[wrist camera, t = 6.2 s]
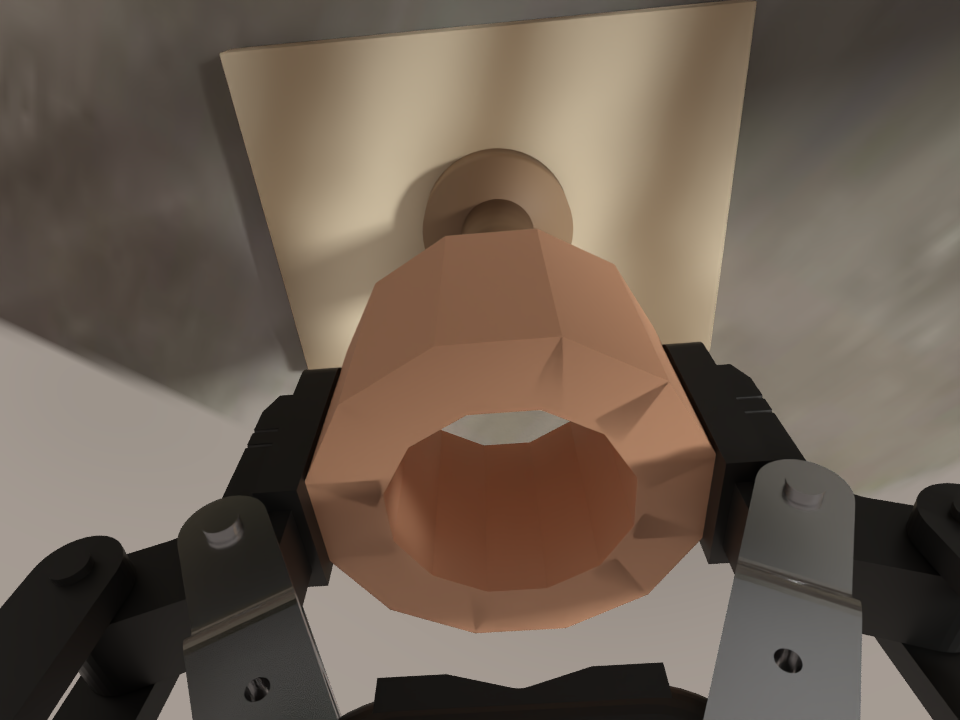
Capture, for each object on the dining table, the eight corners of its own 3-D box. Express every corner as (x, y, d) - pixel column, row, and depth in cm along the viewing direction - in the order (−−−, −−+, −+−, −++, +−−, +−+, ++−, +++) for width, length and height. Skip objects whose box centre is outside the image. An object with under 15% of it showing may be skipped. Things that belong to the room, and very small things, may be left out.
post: (568, 141, 20) (606, 218, 14) (569, 281, 23) (601, 396, 17) (415, 155, 20) (389, 236, 14) (434, 291, 23) (418, 408, 17)
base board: (742, -1, 19) (756, 1, 18) (700, 335, 25) (709, 350, 24) (232, 48, 20) (219, 53, 19) (317, 363, 26) (311, 379, 25)
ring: (662, 218, 12) (740, 323, 8) (642, 472, 15) (690, 621, 12) (323, 245, 12) (262, 358, 8) (379, 490, 15) (352, 640, 12)
